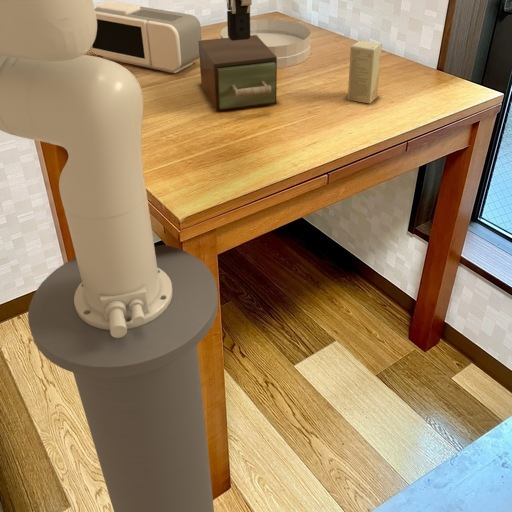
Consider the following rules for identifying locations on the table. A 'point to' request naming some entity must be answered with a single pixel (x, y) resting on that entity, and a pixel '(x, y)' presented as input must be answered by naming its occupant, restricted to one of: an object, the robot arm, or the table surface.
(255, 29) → the dish
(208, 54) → the cabinet
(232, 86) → the drawer
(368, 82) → the box
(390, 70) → the table surface
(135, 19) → the alarm clock
